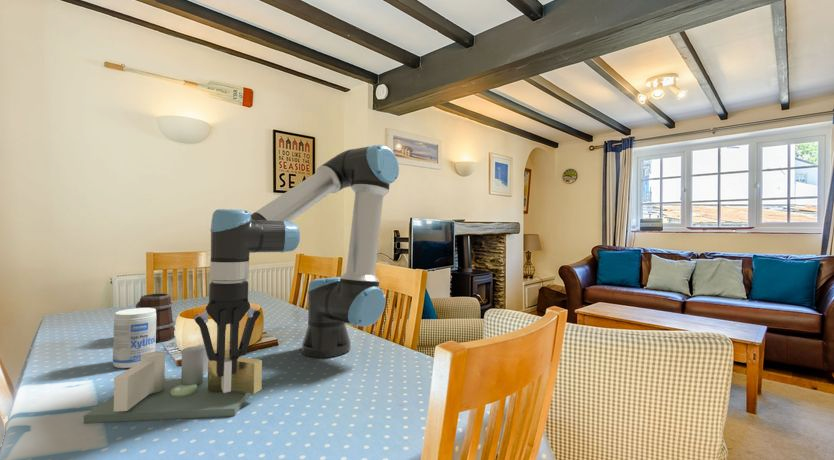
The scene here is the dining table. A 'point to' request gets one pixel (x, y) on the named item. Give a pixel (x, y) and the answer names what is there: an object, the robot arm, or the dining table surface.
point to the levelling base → (177, 397)
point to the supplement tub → (133, 336)
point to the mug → (160, 314)
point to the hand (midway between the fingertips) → (226, 389)
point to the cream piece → (140, 381)
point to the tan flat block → (238, 375)
